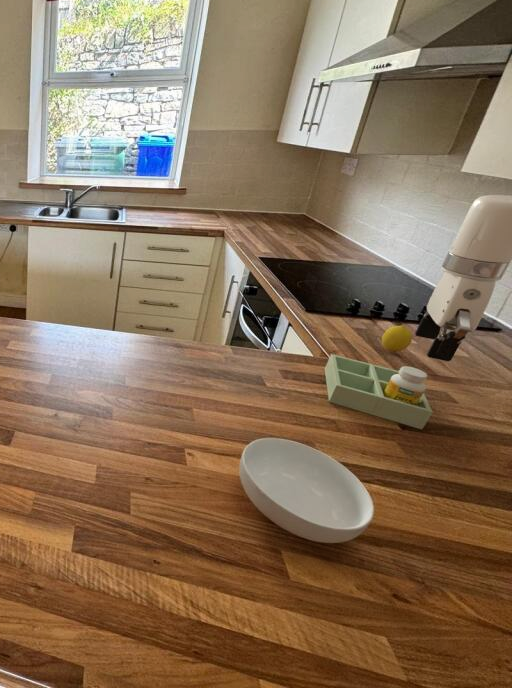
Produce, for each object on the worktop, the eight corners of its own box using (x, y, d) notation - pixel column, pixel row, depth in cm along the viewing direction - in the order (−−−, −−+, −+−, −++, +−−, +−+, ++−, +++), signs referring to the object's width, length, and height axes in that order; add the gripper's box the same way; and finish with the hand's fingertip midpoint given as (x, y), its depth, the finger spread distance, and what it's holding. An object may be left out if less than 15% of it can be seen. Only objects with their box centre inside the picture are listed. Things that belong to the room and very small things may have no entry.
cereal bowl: (213, 464, 72) (223, 434, 69) (306, 468, 72) (320, 438, 69) (267, 558, 57) (283, 525, 54) (385, 563, 57) (408, 530, 54)
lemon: (386, 355, 107) (399, 329, 104) (372, 345, 112) (384, 320, 109) (409, 358, 107) (423, 331, 103) (394, 347, 111) (407, 322, 108)
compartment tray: (405, 391, 93) (414, 374, 91) (422, 429, 82) (432, 412, 80) (324, 369, 101) (331, 353, 99) (328, 401, 89) (336, 385, 87)
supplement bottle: (403, 404, 88) (424, 367, 84) (416, 419, 83) (438, 381, 79) (373, 397, 90) (392, 361, 85) (384, 412, 85) (404, 375, 81)
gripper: (525, 285, 64) (472, 374, 71) (485, 257, 77) (444, 334, 84) (459, 276, 68) (415, 361, 75) (432, 250, 81) (397, 325, 88)
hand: (431, 347), depth 80 cm, fingers open, 9 cm apart
